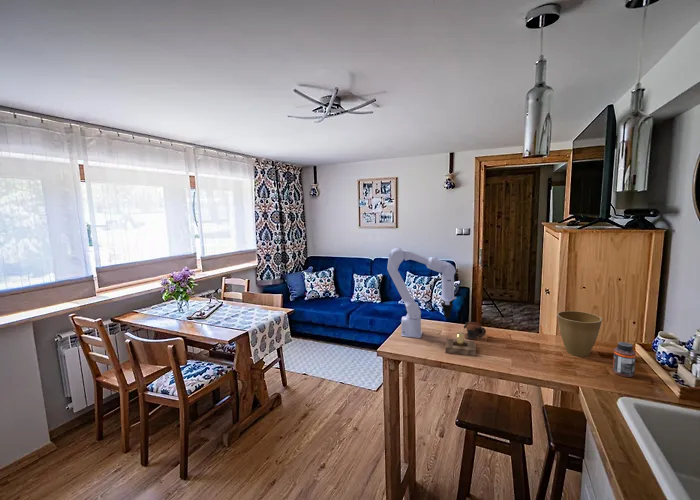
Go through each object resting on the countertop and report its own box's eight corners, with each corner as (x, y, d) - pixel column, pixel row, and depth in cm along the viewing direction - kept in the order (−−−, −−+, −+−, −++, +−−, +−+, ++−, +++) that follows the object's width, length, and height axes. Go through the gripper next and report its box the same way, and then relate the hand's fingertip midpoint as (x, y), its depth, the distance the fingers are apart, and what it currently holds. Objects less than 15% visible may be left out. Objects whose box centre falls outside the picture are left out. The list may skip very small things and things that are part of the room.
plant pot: (570, 343, 143) (572, 308, 142) (607, 356, 130) (610, 318, 128) (547, 349, 138) (549, 313, 136) (584, 364, 124) (586, 324, 122)
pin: (456, 350, 140) (456, 334, 139) (457, 347, 142) (457, 332, 142) (463, 351, 138) (463, 335, 138) (464, 348, 141) (464, 333, 140)
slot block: (445, 352, 138) (445, 347, 137) (446, 343, 147) (446, 338, 147) (475, 356, 134) (475, 350, 133) (474, 346, 143) (474, 341, 143)
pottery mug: (458, 337, 155) (459, 320, 158) (470, 342, 159) (472, 325, 162) (479, 338, 145) (481, 320, 148) (492, 343, 149) (493, 326, 152)
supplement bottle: (612, 368, 121) (614, 339, 119) (633, 372, 117) (636, 343, 116) (612, 374, 116) (614, 344, 115) (634, 379, 112) (636, 348, 111)
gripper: (456, 292, 146) (456, 320, 148) (456, 285, 160) (456, 311, 162) (440, 291, 149) (440, 319, 150) (442, 284, 162) (441, 310, 164)
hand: (447, 315), depth 156 cm, fingers open, 7 cm apart
